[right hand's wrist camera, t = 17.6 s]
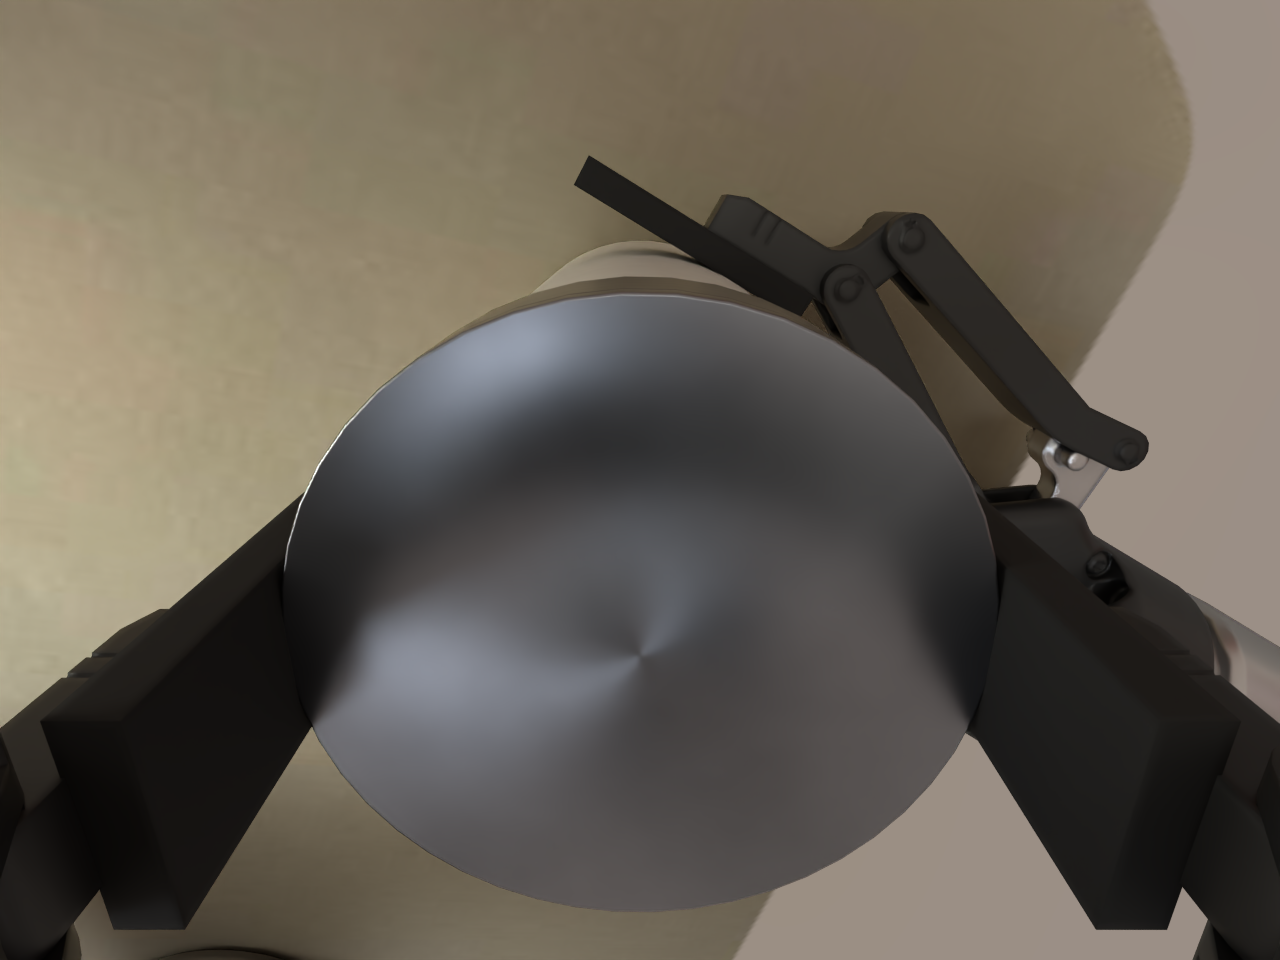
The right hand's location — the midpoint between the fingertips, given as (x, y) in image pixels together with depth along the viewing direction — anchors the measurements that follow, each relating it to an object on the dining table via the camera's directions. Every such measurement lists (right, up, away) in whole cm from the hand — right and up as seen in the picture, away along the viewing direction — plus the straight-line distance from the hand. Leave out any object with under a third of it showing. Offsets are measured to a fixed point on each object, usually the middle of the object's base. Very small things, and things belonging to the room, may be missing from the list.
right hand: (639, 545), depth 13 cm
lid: (0, -1, -3) cm, 3 cm away
